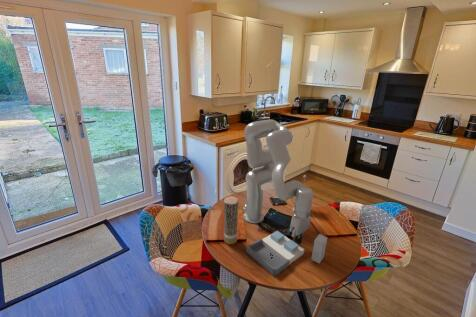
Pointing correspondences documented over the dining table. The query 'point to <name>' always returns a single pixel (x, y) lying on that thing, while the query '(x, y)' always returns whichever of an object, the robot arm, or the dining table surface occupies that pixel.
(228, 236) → the paper tube
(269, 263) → the tray
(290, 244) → the tile
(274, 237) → the tile
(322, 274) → the dining table surface
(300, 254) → the board
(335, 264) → the dining table surface
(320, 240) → the skincare box
